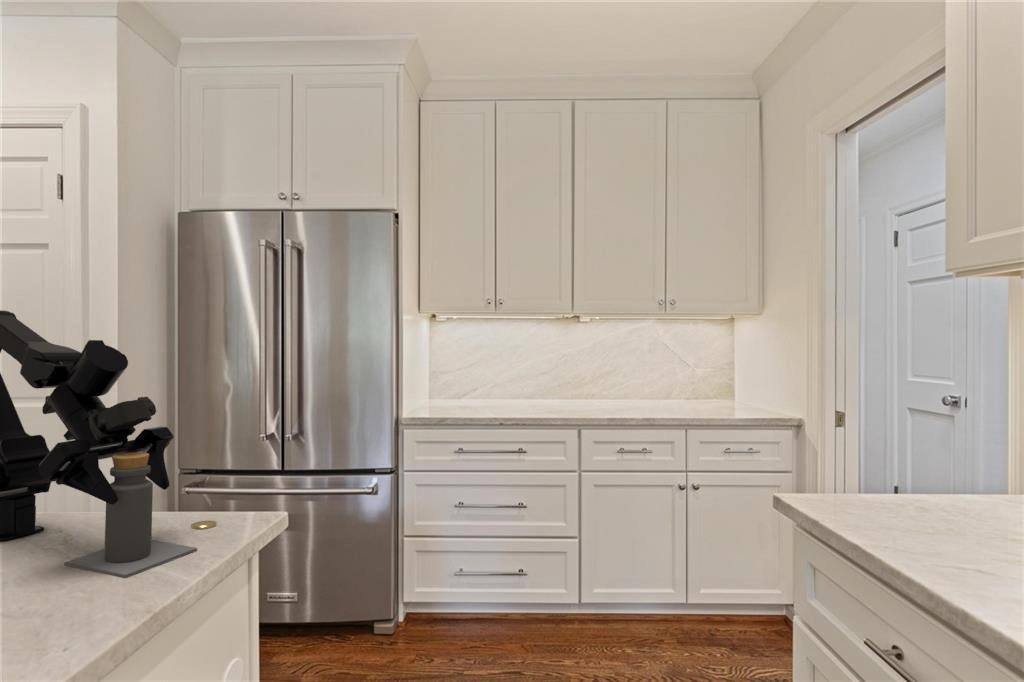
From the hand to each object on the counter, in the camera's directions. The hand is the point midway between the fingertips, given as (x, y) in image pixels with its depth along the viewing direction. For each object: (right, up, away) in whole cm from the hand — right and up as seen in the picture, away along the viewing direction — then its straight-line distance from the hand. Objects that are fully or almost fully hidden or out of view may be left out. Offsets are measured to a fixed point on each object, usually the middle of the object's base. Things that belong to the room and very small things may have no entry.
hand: (142, 494), depth 92 cm
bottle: (-2, -9, 0) cm, 9 cm away
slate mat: (-2, -9, 0) cm, 10 cm away
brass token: (+1, -9, +16) cm, 19 cm away
